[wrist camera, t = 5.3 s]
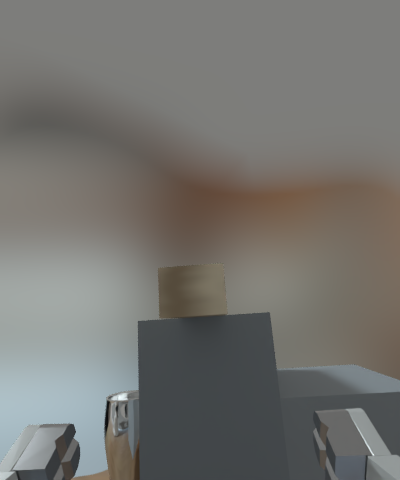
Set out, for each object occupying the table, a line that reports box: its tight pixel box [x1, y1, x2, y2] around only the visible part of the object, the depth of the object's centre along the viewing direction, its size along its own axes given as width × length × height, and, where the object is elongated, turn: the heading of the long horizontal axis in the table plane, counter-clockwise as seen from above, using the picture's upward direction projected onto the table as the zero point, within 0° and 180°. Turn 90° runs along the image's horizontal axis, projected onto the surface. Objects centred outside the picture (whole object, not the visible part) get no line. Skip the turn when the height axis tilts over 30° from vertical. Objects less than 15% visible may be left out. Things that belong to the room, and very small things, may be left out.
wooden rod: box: [158, 263, 227, 318], centre depth 29 cm, size 4×24×3 cm, turn 176°
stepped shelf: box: [138, 312, 400, 480], centre depth 30 cm, size 24×14×26 cm, turn 86°
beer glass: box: [104, 390, 140, 480], centre depth 45 cm, size 7×7×15 cm
